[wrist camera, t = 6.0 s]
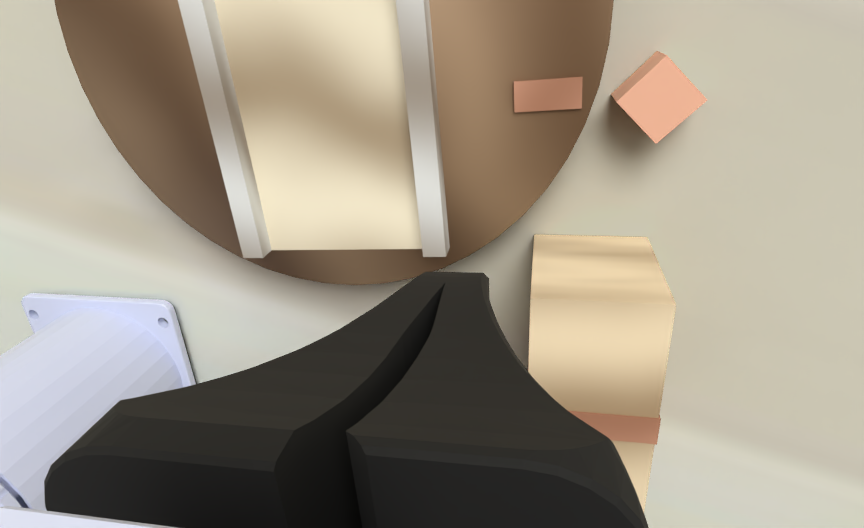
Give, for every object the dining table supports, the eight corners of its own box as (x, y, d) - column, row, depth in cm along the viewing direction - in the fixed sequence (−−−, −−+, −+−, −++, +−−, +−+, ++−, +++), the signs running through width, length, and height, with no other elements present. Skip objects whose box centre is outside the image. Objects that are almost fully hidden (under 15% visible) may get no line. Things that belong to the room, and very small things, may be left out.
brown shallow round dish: (305, 334, 24) (250, 410, 20) (-9, -43, 20) (-175, -56, 15) (713, 102, 17) (772, 137, 13) (373, -564, 13) (276, -878, 8)
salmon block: (694, 92, 17) (707, 99, 16) (647, 132, 18) (656, 144, 17) (656, 50, 17) (666, 54, 16) (610, 94, 18) (616, 102, 16)
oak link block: (624, 431, 23) (642, 533, 19) (527, 422, 24) (522, 518, 20) (648, 236, 20) (678, 305, 15) (532, 233, 20) (528, 298, 16)
